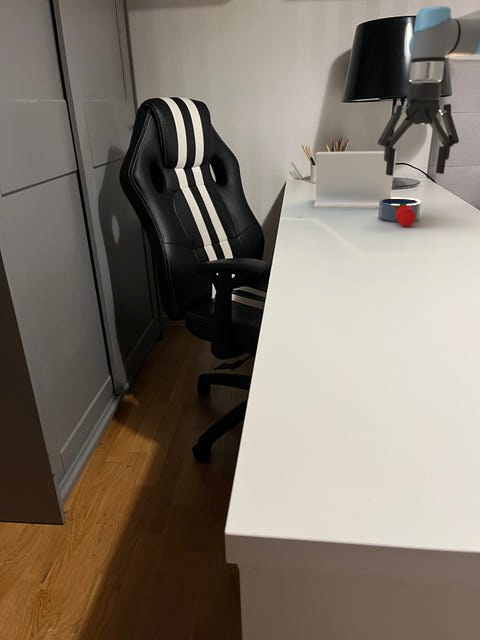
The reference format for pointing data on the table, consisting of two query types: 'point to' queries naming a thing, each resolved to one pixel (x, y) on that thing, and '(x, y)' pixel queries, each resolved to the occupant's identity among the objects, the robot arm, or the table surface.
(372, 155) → the tablet stand
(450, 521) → the table surface
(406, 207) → the strawberry
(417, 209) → the bowl
